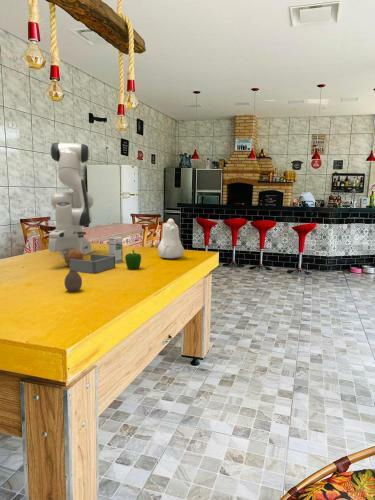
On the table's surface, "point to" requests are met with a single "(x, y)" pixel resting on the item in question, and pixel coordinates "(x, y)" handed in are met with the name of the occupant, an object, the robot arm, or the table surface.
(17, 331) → the table surface
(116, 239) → the syrup box
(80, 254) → the onion
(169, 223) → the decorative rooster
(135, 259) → the bell pepper
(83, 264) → the box
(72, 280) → the vase
